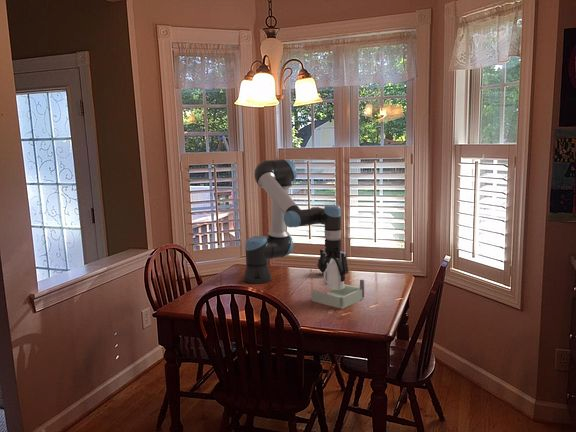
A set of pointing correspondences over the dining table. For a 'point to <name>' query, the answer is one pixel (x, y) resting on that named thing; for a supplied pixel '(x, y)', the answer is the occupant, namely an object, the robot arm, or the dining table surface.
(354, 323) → the dining table surface
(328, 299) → the tray
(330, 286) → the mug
